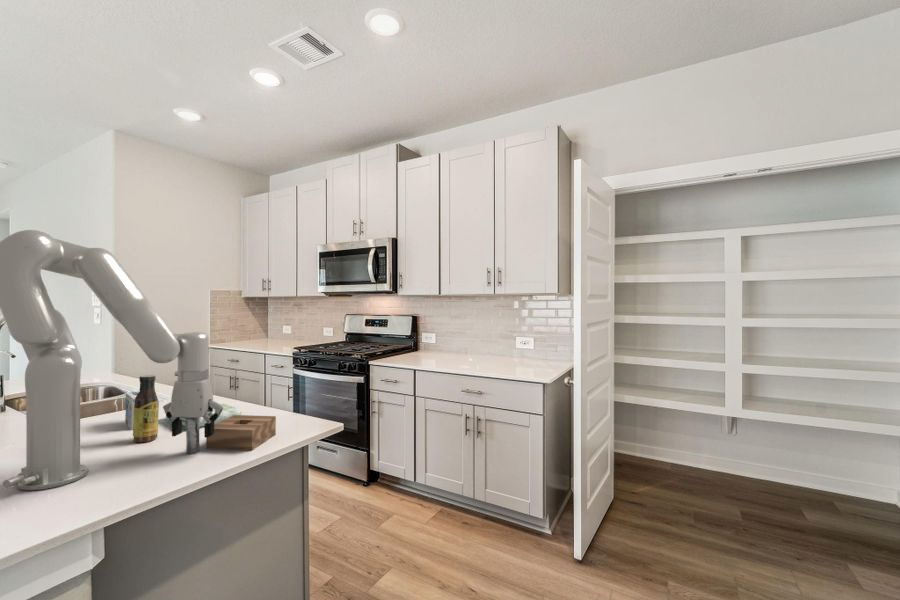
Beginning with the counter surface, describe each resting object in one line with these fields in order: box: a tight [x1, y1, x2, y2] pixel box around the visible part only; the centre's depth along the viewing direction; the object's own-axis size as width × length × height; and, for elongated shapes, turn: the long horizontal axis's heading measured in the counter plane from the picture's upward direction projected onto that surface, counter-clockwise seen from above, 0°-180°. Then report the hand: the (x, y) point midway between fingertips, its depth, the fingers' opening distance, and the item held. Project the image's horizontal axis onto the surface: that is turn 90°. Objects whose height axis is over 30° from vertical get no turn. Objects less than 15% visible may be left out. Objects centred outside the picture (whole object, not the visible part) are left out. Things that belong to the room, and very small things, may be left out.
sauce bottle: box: [132, 374, 160, 444], centre depth 130 cm, size 6×6×20 cm
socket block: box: [205, 414, 277, 452], centre depth 129 cm, size 14×14×6 cm
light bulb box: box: [124, 390, 140, 431], centre depth 145 cm, size 11×7×11 cm, turn 47°
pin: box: [185, 417, 200, 455], centre depth 120 cm, size 3×3×12 cm
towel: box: [165, 400, 243, 430], centre depth 151 cm, size 18×21×5 cm
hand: (193, 435), depth 120 cm, fingers open, 9 cm apart
